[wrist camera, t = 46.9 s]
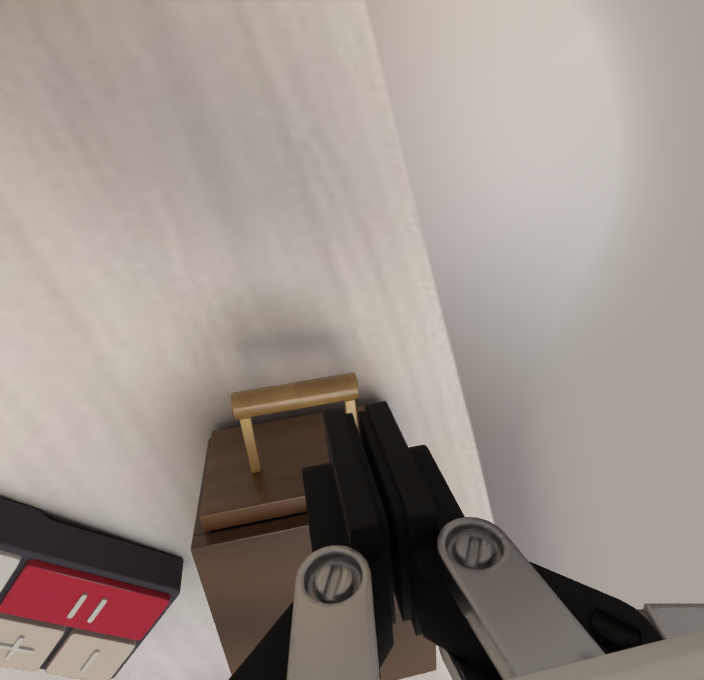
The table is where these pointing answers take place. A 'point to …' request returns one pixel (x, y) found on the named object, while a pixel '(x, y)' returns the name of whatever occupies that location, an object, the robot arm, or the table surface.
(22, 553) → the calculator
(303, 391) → the drawer
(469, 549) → the robot arm
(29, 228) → the table surface
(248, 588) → the cabinet
